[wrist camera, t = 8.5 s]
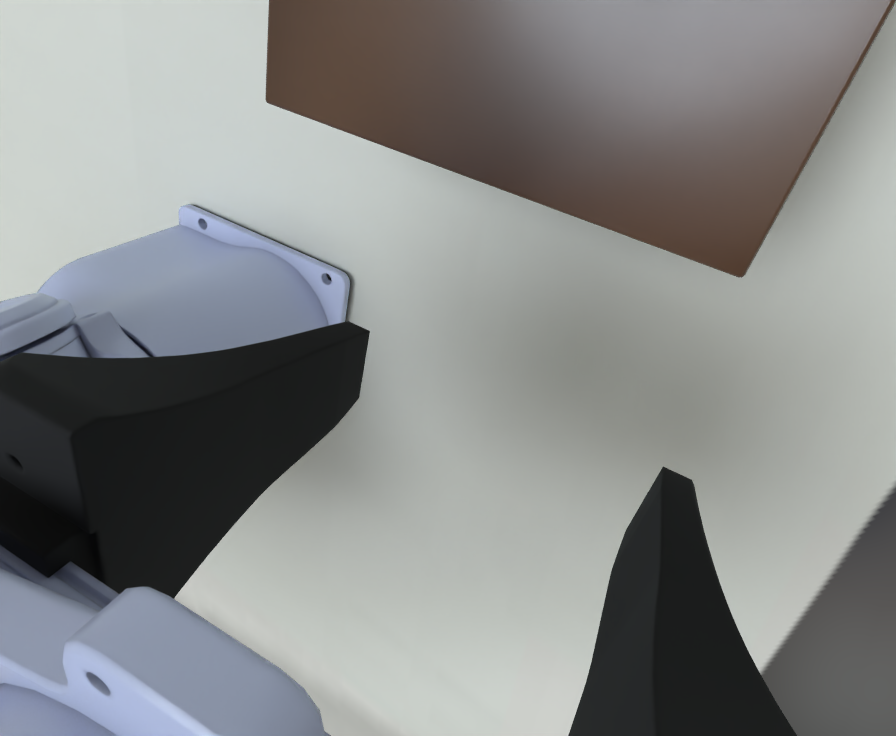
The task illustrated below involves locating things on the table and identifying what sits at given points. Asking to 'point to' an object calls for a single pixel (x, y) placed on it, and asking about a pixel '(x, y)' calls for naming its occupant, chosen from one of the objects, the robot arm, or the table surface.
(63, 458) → the robot arm
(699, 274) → the table surface
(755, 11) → the cabinet
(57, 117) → the table surface
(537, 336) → the table surface
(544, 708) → the table surface
